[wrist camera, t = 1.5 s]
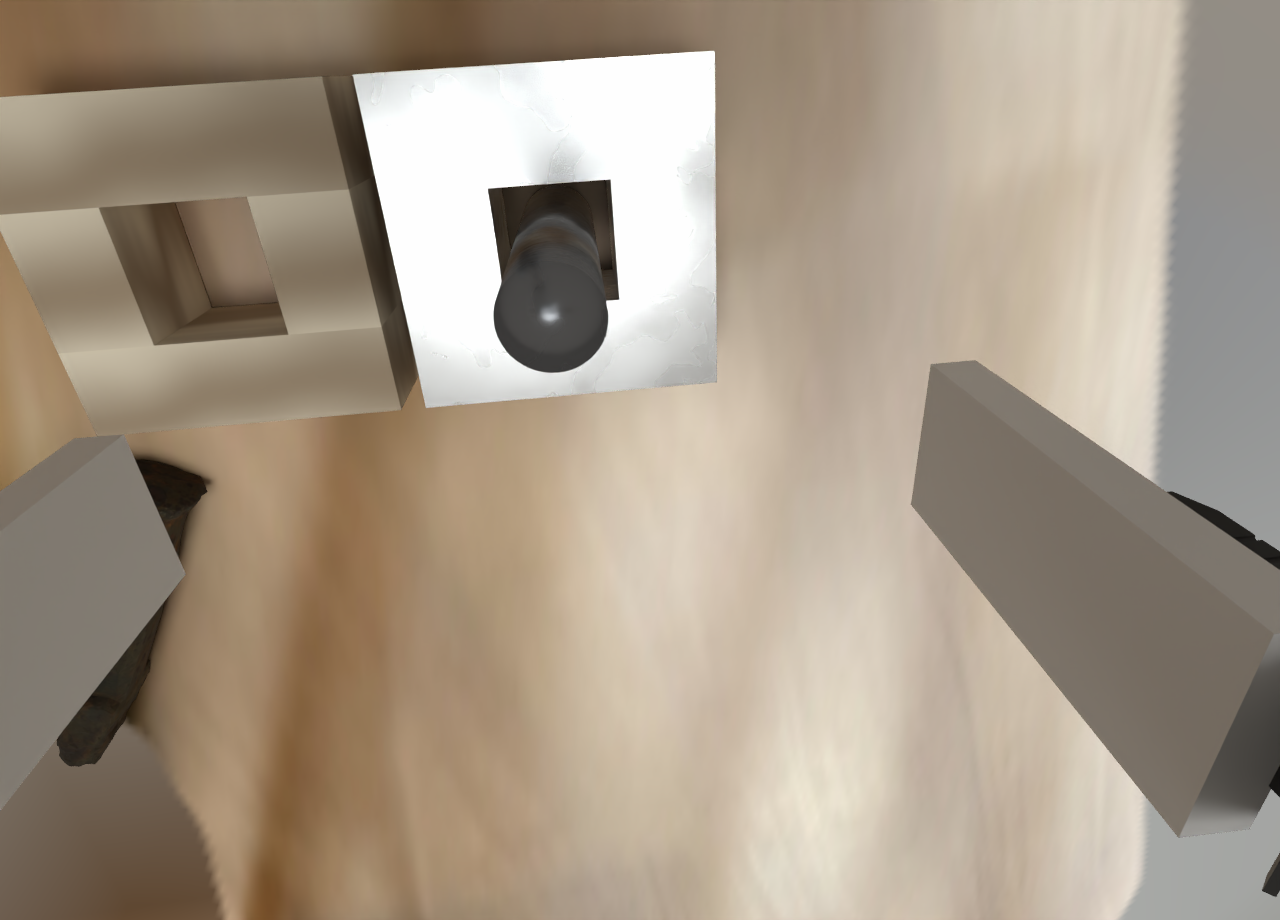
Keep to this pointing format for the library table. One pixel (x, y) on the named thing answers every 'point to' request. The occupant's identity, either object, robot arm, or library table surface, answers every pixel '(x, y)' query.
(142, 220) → the beige block with hole
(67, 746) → the hand tool
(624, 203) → the socket block
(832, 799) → the library table surface
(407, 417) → the library table surface
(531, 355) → the dark grey rounded rod
